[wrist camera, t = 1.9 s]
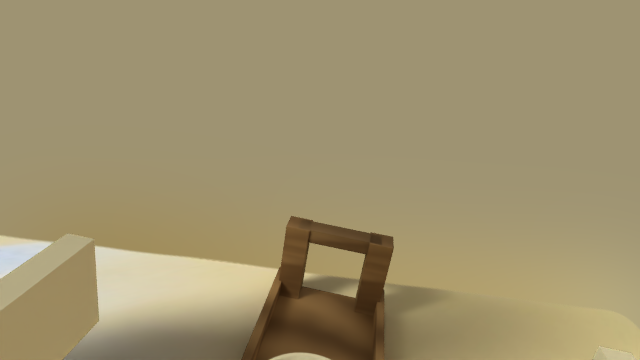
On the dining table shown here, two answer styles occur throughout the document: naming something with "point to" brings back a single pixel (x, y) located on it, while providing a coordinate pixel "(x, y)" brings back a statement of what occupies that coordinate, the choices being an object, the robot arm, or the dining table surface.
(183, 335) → the dining table surface
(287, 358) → the white cup
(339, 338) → the brown wooden stand
